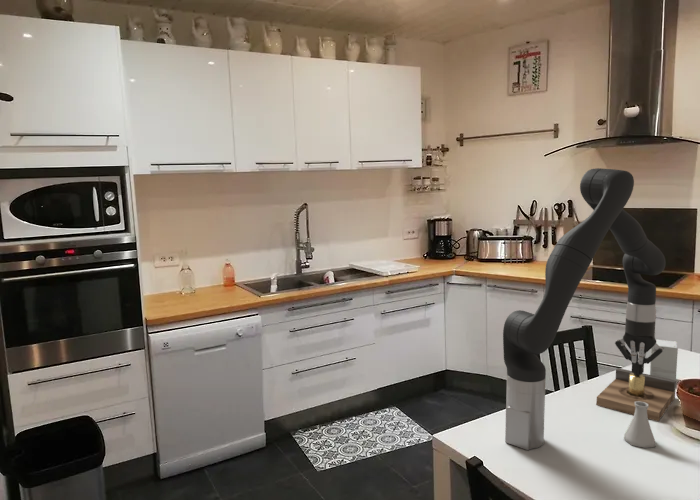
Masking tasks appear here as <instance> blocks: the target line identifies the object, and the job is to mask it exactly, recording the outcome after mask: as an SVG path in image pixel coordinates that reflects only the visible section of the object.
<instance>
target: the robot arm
mask: <svg viewBox="0 0 700 500" xmlns="http://www.w3.org/2000/svg"><path fill="white" fill-rule="evenodd" d="M634 186H635V179H634V176H633V174H632V173H631V172H629V171H627V170H623V169H616V168H614V169H613V168H602V167H601V168H599V167H598V168H591V169H589V170H587V171H586V172H585V173H584V174H583V175H582V177H581V180H580V185H579V191H580V195H581V197H582V198H583V200H584V201H585V203H587V205H588V206H589V207H590V208H591V209H592V210H593V211H592V212H591V213H590V214H589V215H588V217H586V218H585V219H584V220H582V221H581V222H580V223H578V224H577V225H576V226H574V227H573V228H571V229H570V230H569V231H567V232H566V233H564V235H562V236H561V237H560V238H559V239H558V240H557V243H556V244H555V245H554V247H553V249H552V251H551V253H550V254H549V257H548V258H547V261H546V265H545V271H544V272H545V275H544V278H545V279H544V280H545V289H544V294H543V298H542V300H541V302H540V304H539V306H538V307H537V309H536V311H535V312H534V313H532V312H530V311H529V312H528V311H525V310H514V311H513V312H511V313H509V315H508V316H506V317H507V318H506V320H504V324H503V330H502V331H503V332H502V342H503V343H502V347H503V362H504V365H505V367H506V396H505V397H506V399H505V401H506V404H505V405H506V407H505V432H504V433H505V440H504V441H505V443H506V444H510V445H512V446H515V447H517V448H521V449H523V450H526V451H530V450H531V449H537V448H540V447H542V446H543V445H544V443H545V441H544V440H545V438H544V437H545V412H546V411H545V410H546V409H545V405H546V404H545V403H546V375H547V373H546V372H547V370H546V369H547V368H546V366H545V364H544V363H543V362H542V361H541V360H540V358H539V357H538V355H541V354H543V353H545V352H546V351H547V350H548V349H549V348H550V347H551V345H552V343H553V342H554V339H555V338H556V337H557V333H558V331H559V328H560V326H561V323H562V321H563V319H564V316H565V314H566V311H567V309H568V307H569V304H570V303H571V300H572V298H573V296H574V294H575V293H576V290H577V289H578V287H579V285H580V282H581V281H582V279H583V278H584V277H585V274H586V273H587V270H588V269H589V267H590V265H591V263H592V262H593V259H594V258H595V255H596V253H597V252H598V250H599V248H600V247H601V244H602V242H603V241H604V238H605V237H606V235H607V233H608V232H609V230H610V231H611V234H612V235H613V237H614V240H616V242H617V244H618V246H619V247H620V250H621V251H622V252H623V253H624V254H623V257H622V267H623V272H624V275H625V279H626V284H627V303H626V304H627V305H626V309H625V325H624V326H625V327H624V328H625V329H624V334H623V336H622V338H620V339H617V340H616V341H615V342H614V344H615V346H616V348H617V349H618V350H619V352H621V355H622V356H623V357H624V358H625V360H627V361H631V371H632V373H634V375H636V376H640V375H642V374H643V373H644V368H645V365H646V364H649V365H650V362H651V361H652V360H654V359H655V358H656V357H657V356H658V355H660V354H661V353H662V352H663V351H664V348H663V347H660V346H659V345H658V344H656V337H655V334H656V321H657V309H656V308H657V307H656V299H657V287H656V285H655V283H653V282H649V281H647V280H645V279H643V277H642V276H641V275H647V276H648V275H649V276H657V275H660V274H661V273H663V272H664V270H665V267H666V257H665V255H664V254H663V252H662V251H661V249H660V248H659V247H658V246H656V244H654V243H653V242H652V241H651V240H649V239H648V237H647V235H646V233H645V231H644V229H643V226H641V224H640V223H639V221H638V220H636V218H634V217H633V216H632V215H631V214H630V213H628V211H626V210H625V209H624V208H625V207H626V205H627V203H628V202H629V200H630V198H631V196H632V194H633V191H634ZM627 347H628V348H627ZM652 347H654V349H653V352H654V353H653V354H652V355H651V354H650V355H649V356H648V357H646V355H647V353H648V352H649V351H651V348H652Z"/></svg>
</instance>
